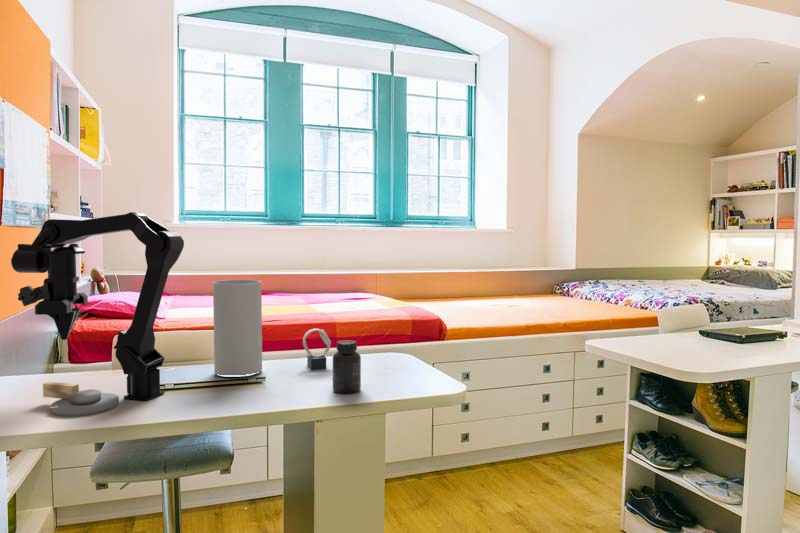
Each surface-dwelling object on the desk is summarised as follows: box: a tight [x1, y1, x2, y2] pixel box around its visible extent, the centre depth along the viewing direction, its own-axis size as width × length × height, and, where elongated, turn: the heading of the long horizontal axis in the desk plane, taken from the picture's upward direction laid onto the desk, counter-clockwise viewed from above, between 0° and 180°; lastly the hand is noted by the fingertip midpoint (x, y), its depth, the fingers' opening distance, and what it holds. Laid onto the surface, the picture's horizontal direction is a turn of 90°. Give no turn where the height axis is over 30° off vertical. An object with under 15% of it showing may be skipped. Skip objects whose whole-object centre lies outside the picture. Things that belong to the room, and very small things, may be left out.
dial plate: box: [49, 392, 120, 418], centre depth 122 cm, size 13×13×1 cm
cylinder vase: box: [212, 279, 263, 375], centre depth 151 cm, size 12×12×25 cm
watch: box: [302, 328, 332, 371], centre depth 159 cm, size 6×8×11 cm
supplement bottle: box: [332, 339, 362, 395], centre depth 136 cm, size 7×7×12 cm
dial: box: [42, 381, 102, 405], centre depth 123 cm, size 14×6×3 cm, turn 76°
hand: (64, 339), depth 131 cm, fingers closed
